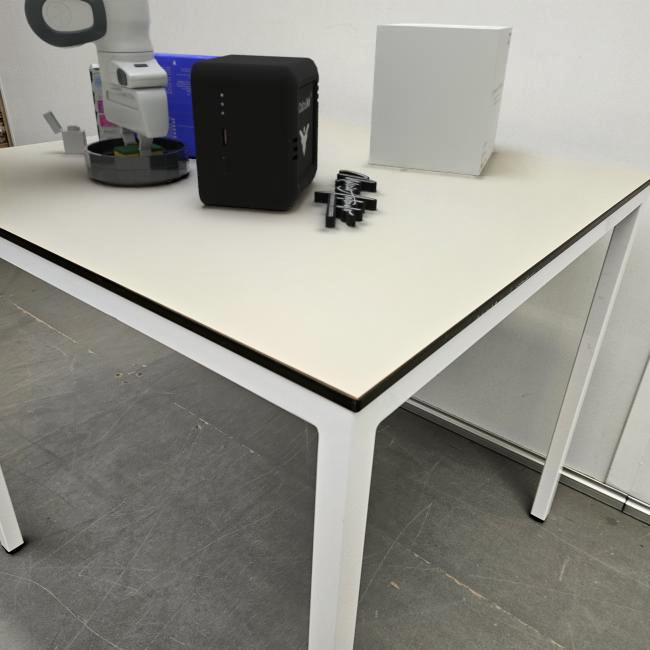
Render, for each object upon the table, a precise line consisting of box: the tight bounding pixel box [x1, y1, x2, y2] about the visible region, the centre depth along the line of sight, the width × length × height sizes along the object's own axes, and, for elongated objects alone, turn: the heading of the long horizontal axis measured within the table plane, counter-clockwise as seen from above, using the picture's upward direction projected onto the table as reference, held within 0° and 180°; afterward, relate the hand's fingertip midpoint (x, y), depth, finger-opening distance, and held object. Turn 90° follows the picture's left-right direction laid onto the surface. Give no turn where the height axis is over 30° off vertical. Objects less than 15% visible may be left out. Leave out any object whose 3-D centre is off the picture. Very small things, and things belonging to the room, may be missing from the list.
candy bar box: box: [88, 63, 122, 141], centre depth 116 cm, size 11×5×16 cm, turn 18°
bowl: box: [83, 137, 191, 187], centre depth 105 cm, size 17×17×5 cm
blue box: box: [133, 52, 222, 159], centre depth 119 cm, size 39×8×18 cm, turn 63°
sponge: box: [113, 143, 163, 156], centre depth 105 cm, size 7×5×3 cm, turn 127°
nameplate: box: [313, 169, 378, 229], centre depth 95 cm, size 28×2×10 cm
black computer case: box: [190, 53, 320, 211], centre depth 93 cm, size 20×15×20 cm
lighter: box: [42, 110, 88, 155], centre depth 119 cm, size 7×2×8 cm, turn 96°
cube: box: [368, 22, 513, 176], centre depth 120 cm, size 25×21×24 cm
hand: (138, 156), depth 105 cm, fingers closed on sponge, 4 cm apart
